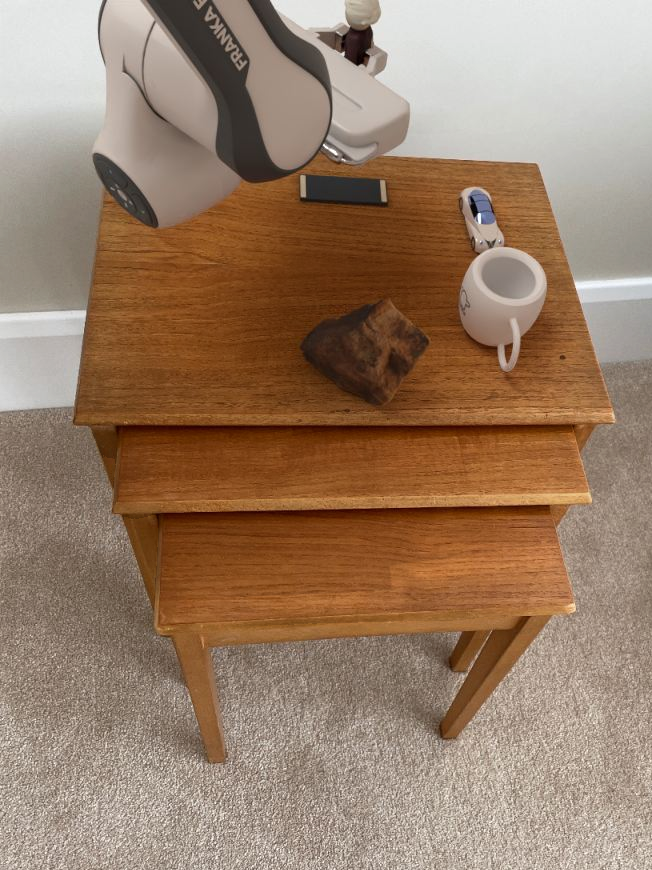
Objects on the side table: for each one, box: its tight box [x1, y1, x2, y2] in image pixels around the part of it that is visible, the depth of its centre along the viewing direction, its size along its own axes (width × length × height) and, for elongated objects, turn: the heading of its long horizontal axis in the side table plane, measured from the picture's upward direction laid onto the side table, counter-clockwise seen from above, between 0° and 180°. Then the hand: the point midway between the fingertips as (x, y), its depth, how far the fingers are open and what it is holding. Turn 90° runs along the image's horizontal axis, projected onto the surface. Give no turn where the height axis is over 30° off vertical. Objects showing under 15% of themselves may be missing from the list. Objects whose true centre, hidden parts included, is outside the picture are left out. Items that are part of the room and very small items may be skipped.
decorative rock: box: [299, 297, 432, 408], centre depth 74 cm, size 12×6×11 cm, turn 57°
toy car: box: [458, 186, 505, 254], centre depth 88 cm, size 4×12×3 cm, turn 11°
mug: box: [458, 246, 548, 373], centre depth 80 cm, size 12×8×8 cm
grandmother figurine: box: [343, 0, 382, 66], centre depth 75 cm, size 8×4×13 cm, turn 173°
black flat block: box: [298, 173, 389, 207], centre depth 89 cm, size 10×4×1 cm, turn 93°
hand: (364, 44), depth 74 cm, fingers closed on grandmother figurine, 3 cm apart
